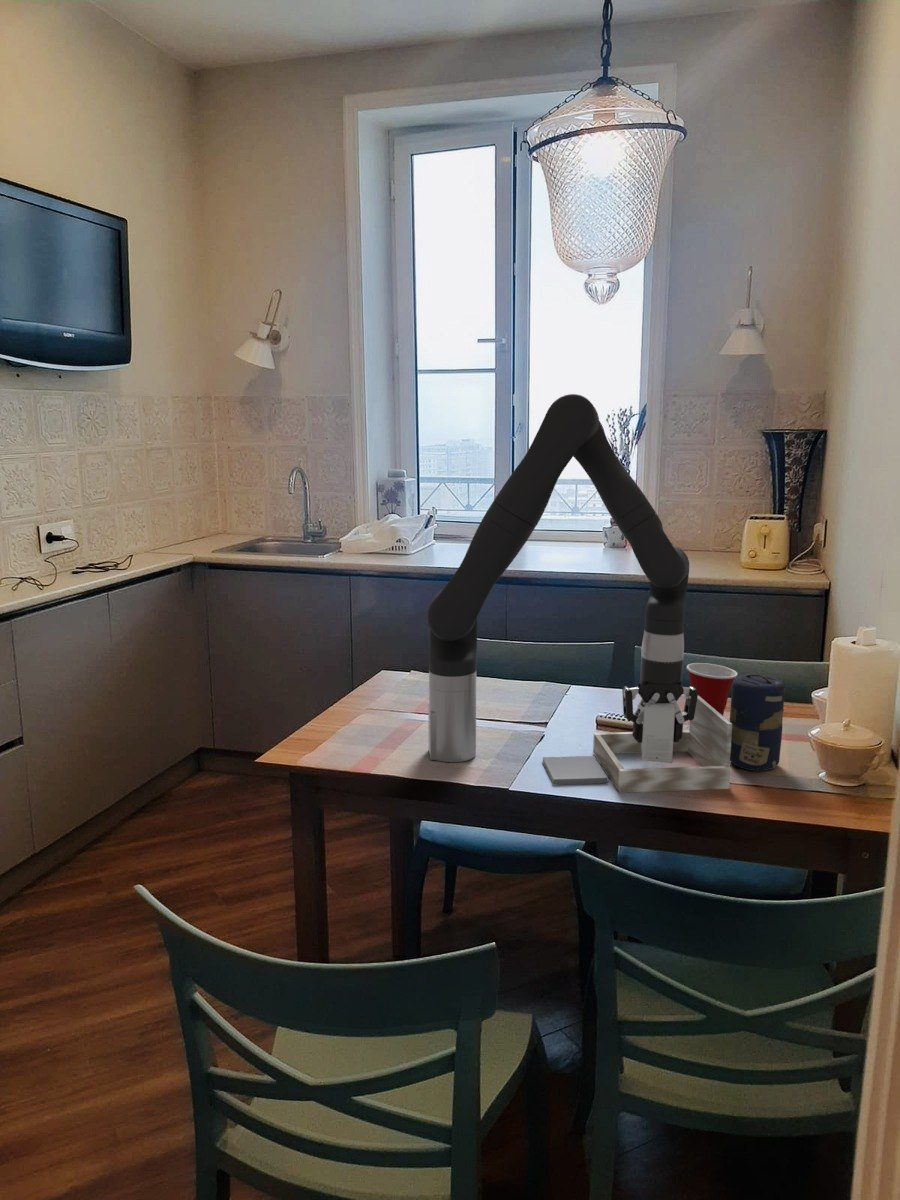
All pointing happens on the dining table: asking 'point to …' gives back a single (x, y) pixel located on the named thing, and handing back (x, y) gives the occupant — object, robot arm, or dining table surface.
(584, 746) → the dining table surface
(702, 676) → the plastic cup
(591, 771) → the slate tile
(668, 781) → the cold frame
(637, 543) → the robot arm
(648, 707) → the small box
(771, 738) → the canister
